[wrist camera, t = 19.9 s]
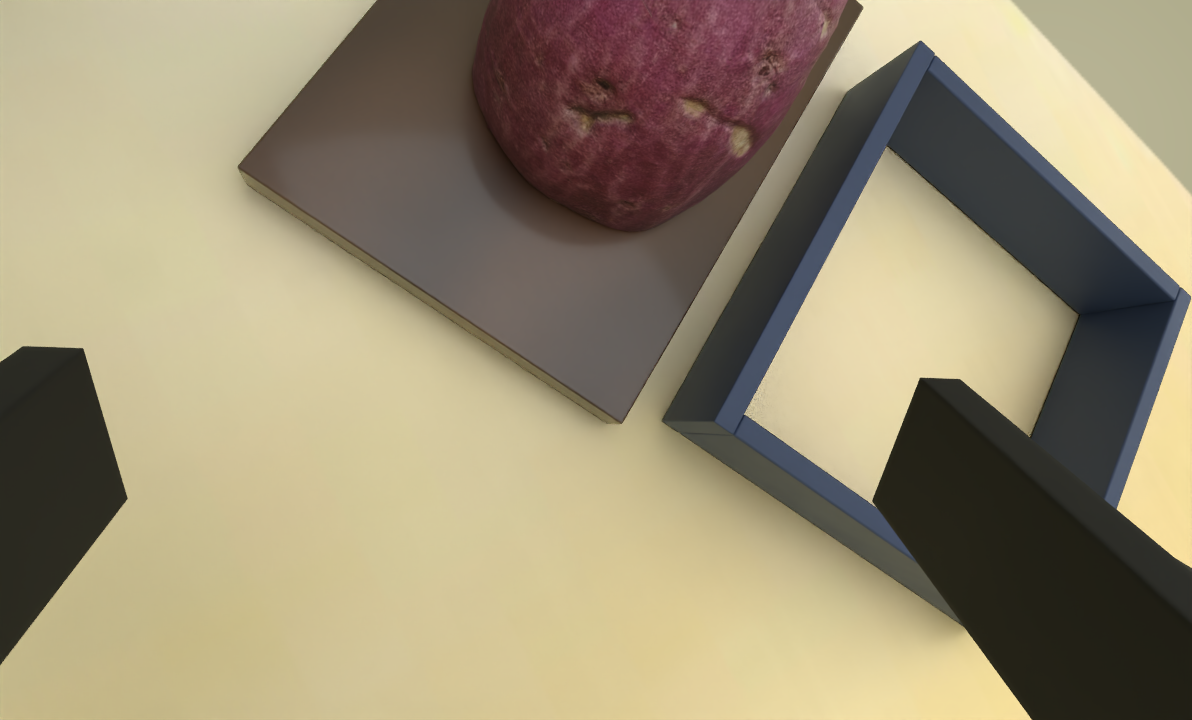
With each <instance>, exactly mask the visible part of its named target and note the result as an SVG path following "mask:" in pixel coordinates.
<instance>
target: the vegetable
mask: <svg viewBox="0 0 1192 720" xmlns="http://www.w3.org/2000/svg"><path fill="white" fill-rule="evenodd" d="M847 1H848V0H490V2H489V4H488V7H487V9H486V12H485V15H484V19H483V24H482V28H481V31H480V34H479V38H478V42H477V47H476V53H475V58H474V63H473V69H472V79H473V85H474V92H475V95H476V98H477V101H478V104H479V107H480V109H481V111H482V113H483V116H484V118H485V122H486V124H487V128H488V129H489V130H490V131H491V132H492V134H493V135H494V137H495V138H496V140H497V142H498V143H499V145H500V146H501V148H502V150H503V151H504V152H505V154H506V155H507V157H508V158H509V159H510V161H511V162H512V164H513V165H514V166H515V168H516V169H517V171H518V172H519V173H520V174H521V175H522V176H523V177H524V178H525V180H526V181H528V183H529V184H530V185H531V186H532V187H534V188H535V189H537V190H539V191H540V192H541V193H542V195H544V196H546V197H548V198H549V199H551V200H553V201H554V202H556V203H559V204H561V205H563V206H565V207H567V208H568V209H570V210H572V211H573V212H576V213H578V214H580V215H582V216H584V217H586V218H588V219H590V220H592V221H595V222H597V223H600V224H602V225H604V226H607V227H609V228H613V229H617V230H622V231H628V232H638V231H639V232H641V231H645V230H649V229H652V228H654V227H656V226H658V225H660V224H662V223H664V222H666V221H668V220H669V219H671V218H673V217H675V216H677V215H679V214H680V213H682V212H683V211H685V210H687V209H688V208H690V207H692V206H694V205H696V204H698V203H699V202H701V201H703V200H704V199H705V198H706V197H707V196H709V195H710V194H712V193H713V192H714V191H716V190H717V189H718V188H719V187H721V186H722V185H723V184H724V183H726V182H727V181H728V180H729V179H730V178H731V177H732V176H734V175H735V174H736V173H737V172H738V171H739V170H740V169H741V168H742V167H743V166H744V165H745V164H746V163H747V162H748V161H749V160H750V159H751V158H752V157H753V156H754V155H755V154H756V152H757V151H758V150H759V149H760V148H761V147H762V146H763V145H764V144H765V142H766V141H767V140H768V139H769V138H770V137H771V135H772V134H773V133H774V132H775V130H776V129H777V127H778V126H779V125H780V123H781V122H782V120H783V119H784V117H785V115H786V114H787V112H788V110H789V109H790V107H791V105H792V104H793V102H794V100H795V99H796V97H797V96H798V94H799V93H800V91H801V89H802V88H803V86H804V84H805V82H806V80H807V77H808V75H809V73H810V71H811V70H812V68H813V66H814V65H815V63H816V62H817V60H818V59H819V57H820V55H821V54H822V52H823V51H824V50H825V48H826V47H827V44H828V42H829V40H830V38H831V36H832V34H833V33H834V31H835V30H836V28H837V26H838V22H839V18H840V16H841V14H842V12H843V10H844V8H845V6H846V3H847Z"/></svg>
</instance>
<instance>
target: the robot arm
mask: <svg viewBox="0 0 1192 720" xmlns="http://www.w3.org/2000/svg"><path fill="white" fill-rule="evenodd" d="M127 499H128V498H127V495H126V492H125V488H124V485H123V481H122V478H121V475H120V471H119V468H118V465H117V461H116V458H115V454H114V451H113V448H112V444H111V441H110V437H109V434H108V431H107V427H106V424H105V421H104V417H103V414H102V410H101V407H100V404H99V400H98V397H97V393H96V390H95V387H94V383H93V380H92V377H91V373H90V370H89V366H88V363H87V360H86V356H85V353H84V349H83V348H57V347H29V346H23V347H21V348H20V349H19V350H17V351H16V352H14V353H13V354H11V355H10V356H9V357H7V358H6V359H4V360H3V361H2V362H0V665H1V663H2V662H3V661H4V659H5V658H6V657H7V656H8V654H9V653H10V652H11V650H12V649H13V648H14V646H15V645H16V644H17V642H18V641H19V640H20V639H21V637H22V636H23V635H24V633H25V632H26V631H27V629H28V628H29V627H30V626H31V624H32V623H33V622H34V620H35V619H36V618H37V616H38V615H39V614H40V612H41V611H42V610H43V609H44V607H45V606H46V605H47V603H48V602H49V601H50V599H51V598H52V597H53V595H54V594H55V593H56V592H57V590H58V589H59V588H60V586H61V585H62V584H63V582H64V581H65V580H66V579H67V577H68V576H69V575H70V573H71V572H72V571H73V569H74V568H75V567H76V565H77V564H78V563H79V562H80V560H81V559H82V558H83V556H84V555H85V554H86V552H87V551H88V550H89V548H90V547H91V546H92V545H93V543H94V542H95V541H96V539H97V538H98V537H99V535H100V534H101V533H102V532H103V530H104V529H105V528H106V526H107V525H108V524H109V522H110V521H111V520H112V518H113V517H114V516H115V515H116V513H117V512H118V511H119V509H120V508H121V507H122V505H123V504H124V503H125V501H126V500H127ZM872 502H873V503H874V504H875V506H876V507H877V508H878V510H879V511H880V513H881V514H882V515H883V517H884V518H885V519H886V521H887V522H888V523H889V525H890V526H891V528H892V529H893V530H894V532H895V533H896V534H897V536H898V537H899V538H900V540H901V541H902V543H903V544H904V545H905V547H906V548H907V549H908V551H909V552H910V554H911V555H912V556H913V558H914V559H915V560H916V562H917V563H918V564H919V566H920V567H921V569H922V570H923V571H924V573H925V574H926V575H927V577H928V578H929V579H930V581H931V582H932V584H933V585H934V586H935V588H936V589H937V590H938V592H939V593H940V595H941V596H942V597H943V599H944V600H945V601H946V603H947V604H948V605H949V607H950V608H951V610H952V611H953V612H954V614H955V615H956V616H957V618H958V619H959V620H960V622H961V623H962V625H963V626H964V627H965V629H966V630H967V631H968V633H969V634H970V636H971V637H972V638H973V640H974V641H975V642H976V644H977V645H978V646H979V648H980V649H981V651H982V652H983V653H984V655H985V656H986V657H987V659H988V660H989V661H990V663H991V664H992V666H993V667H994V668H995V670H996V671H997V672H998V674H999V675H1000V677H1001V678H1002V679H1003V681H1004V682H1005V683H1006V685H1007V686H1008V687H1009V689H1010V690H1011V692H1012V693H1013V694H1014V696H1015V697H1016V698H1017V700H1018V701H1019V702H1020V704H1021V705H1022V707H1023V708H1024V709H1025V711H1026V712H1027V713H1028V715H1029V716H1030V718H1031V719H1032V720H1192V568H1190V567H1189V566H1187V565H1185V564H1184V563H1182V562H1180V561H1179V560H1177V559H1175V558H1174V557H1173V556H1172V555H1170V554H1169V553H1168V552H1167V551H1166V550H1164V549H1163V548H1162V547H1161V546H1160V545H1158V544H1157V543H1156V542H1155V541H1154V540H1152V539H1151V538H1150V537H1149V536H1148V535H1146V534H1145V533H1144V532H1143V531H1142V530H1140V529H1139V528H1138V527H1137V526H1136V525H1134V524H1133V523H1132V522H1131V521H1130V520H1128V519H1127V518H1126V517H1125V516H1124V515H1122V514H1121V513H1120V512H1119V511H1118V510H1116V509H1115V508H1114V507H1113V506H1112V505H1110V504H1109V503H1108V502H1107V501H1106V500H1104V499H1103V498H1102V497H1101V496H1100V495H1098V494H1097V493H1096V492H1095V491H1094V490H1092V489H1091V488H1090V487H1089V486H1088V485H1086V484H1085V483H1084V482H1083V481H1082V480H1080V479H1079V478H1078V477H1077V476H1076V475H1074V474H1073V473H1072V472H1071V471H1070V470H1068V469H1067V468H1066V467H1065V466H1064V465H1062V464H1061V463H1060V462H1059V461H1058V460H1056V459H1055V458H1054V457H1053V456H1052V455H1050V454H1049V453H1048V452H1047V451H1046V450H1044V449H1043V448H1042V447H1041V446H1040V445H1038V444H1037V443H1036V442H1035V441H1034V440H1032V439H1031V438H1030V437H1029V436H1027V435H1026V434H1025V433H1024V432H1023V431H1021V430H1020V429H1019V428H1018V427H1017V426H1015V425H1014V424H1013V423H1012V422H1011V421H1009V420H1008V419H1007V418H1006V417H1005V416H1003V415H1002V414H1001V413H1000V412H999V411H997V410H996V409H995V408H994V407H993V406H991V405H990V404H989V403H988V402H987V401H985V400H984V399H983V398H982V397H981V396H979V395H978V394H977V393H976V392H975V391H973V390H972V389H971V388H970V387H969V386H967V385H966V384H965V383H964V382H963V381H961V380H960V379H939V378H920V379H919V382H918V385H917V387H916V390H915V392H914V395H913V397H912V400H911V403H910V405H909V408H908V410H907V413H906V415H905V418H904V421H903V423H902V426H901V428H900V431H899V433H898V436H897V439H896V441H895V444H894V446H893V449H892V451H891V454H890V457H889V459H888V462H887V464H886V467H885V469H884V472H883V475H882V477H881V480H880V482H879V485H878V487H877V490H876V493H875V495H874V498H873V500H872Z"/></svg>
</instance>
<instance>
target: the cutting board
mask: <svg viewBox="0 0 1192 720" xmlns="http://www.w3.org/2000/svg"><path fill="white" fill-rule="evenodd" d="M489 2H490V0H377V1H376V2H375V3H374V5H373V6H372V7H371V8H370V9H369V10H368V12H367V13H366V14H365V15H364V16H363V18H362V19H361V20H360V21H359V22H358V24H357V25H356V26H355V27H354V28H353V30H352V31H351V32H350V33H349V34H348V35H347V37H346V38H345V39H344V40H343V41H342V43H341V44H340V45H339V46H338V47H337V49H336V50H335V51H334V52H333V53H332V55H331V56H330V57H329V58H328V59H327V60H326V62H325V63H324V64H323V65H322V66H321V68H320V69H319V70H318V71H317V72H316V74H315V75H314V76H313V77H312V78H311V80H310V81H309V82H308V83H307V84H306V85H305V87H304V88H303V89H302V90H301V91H300V93H299V94H298V95H297V96H296V97H295V99H294V100H293V101H292V102H291V103H290V104H289V106H288V107H287V108H286V109H285V110H284V112H283V113H282V114H281V115H280V116H279V118H278V119H277V120H276V121H275V122H274V124H273V125H272V126H271V127H270V128H269V129H268V131H267V132H266V133H265V134H264V135H263V137H262V138H261V139H260V140H259V141H258V143H257V144H256V145H255V146H254V147H253V149H252V150H251V151H250V152H249V153H248V154H247V156H246V157H245V158H244V159H243V160H242V162H241V163H240V164H239V165H238V169H239V171H240V173H241V175H242V176H243V178H244V180H245V182H246V183H247V185H248V186H250V187H251V188H253V189H254V190H256V191H257V192H259V193H260V194H262V195H263V196H265V197H266V198H268V199H269V200H271V201H273V202H274V203H276V204H277V205H279V206H280V207H282V208H283V209H285V210H286V211H288V212H289V213H291V214H292V215H294V216H295V217H297V218H298V219H300V220H301V221H303V222H304V223H306V224H307V225H309V226H310V227H312V228H313V229H315V230H316V231H318V232H319V233H321V234H322V235H324V236H325V237H327V238H328V239H330V240H331V241H333V242H334V243H336V244H337V245H339V246H340V247H342V248H343V249H345V250H346V251H348V252H349V253H351V254H352V255H354V256H355V257H357V258H358V259H360V260H361V261H363V262H364V263H366V264H367V265H369V266H370V267H372V268H373V269H375V270H376V271H378V272H379V273H381V274H382V275H384V276H385V277H387V278H389V279H390V280H392V281H393V282H395V283H396V284H398V285H399V286H401V287H402V288H404V289H405V290H407V291H408V292H410V293H411V294H413V295H414V296H416V297H417V298H419V299H420V300H422V301H423V302H425V303H426V304H428V305H429V306H431V307H432V308H434V309H435V310H437V311H438V312H440V313H441V314H443V315H444V316H446V317H447V318H449V319H450V320H452V321H453V322H455V323H456V324H458V325H459V326H461V327H462V328H464V329H465V330H467V331H468V332H470V333H471V334H473V335H474V336H476V337H477V338H479V339H480V340H482V341H483V342H485V343H486V344H488V345H489V346H491V347H492V348H494V349H495V350H497V351H498V352H500V353H501V354H503V355H504V356H506V357H508V358H509V359H511V360H512V361H514V362H515V363H517V364H518V365H520V366H521V367H523V368H524V369H526V370H527V371H529V372H530V373H532V374H533V375H535V376H536V377H538V378H539V379H541V380H542V381H544V382H545V383H547V384H548V385H550V386H551V387H553V388H554V389H556V390H557V391H559V392H560V393H562V394H563V395H565V396H566V397H568V398H569V399H571V400H572V401H574V402H575V403H577V404H578V405H580V406H581V407H583V408H584V409H586V410H587V411H589V412H590V413H592V414H593V415H595V416H596V417H598V418H599V419H601V420H602V421H604V422H605V423H609V424H622V423H623V421H624V420H625V418H626V416H627V414H628V413H629V411H630V409H631V408H632V406H633V404H634V402H635V401H636V399H637V397H638V395H639V394H640V392H641V390H642V389H643V387H644V385H645V383H646V382H647V380H648V378H649V377H650V375H651V373H652V371H653V370H654V368H655V366H656V364H657V363H658V361H659V359H660V358H661V356H662V354H663V352H664V351H665V349H666V347H667V346H668V344H669V342H670V340H671V339H672V337H673V335H674V333H675V332H676V330H677V328H678V327H679V325H680V323H681V321H682V320H683V318H684V316H685V315H686V313H687V311H688V309H689V308H690V306H691V304H692V303H693V301H694V299H695V297H696V296H697V294H698V292H699V290H700V289H701V287H702V285H703V284H704V282H705V280H706V278H707V277H708V275H709V273H710V272H711V270H712V268H713V266H714V265H715V263H716V261H717V259H718V258H719V256H720V254H721V253H722V251H723V249H724V247H725V246H726V244H727V242H728V241H729V239H730V237H731V235H732V234H733V232H734V230H735V228H736V227H737V225H738V223H739V222H740V220H741V218H742V216H743V215H744V213H745V211H746V210H747V208H748V206H749V204H750V203H751V201H752V199H753V197H754V196H755V194H756V192H757V191H758V189H759V187H760V185H761V184H762V182H763V180H764V179H765V177H766V175H767V173H768V172H769V170H770V168H771V167H772V165H773V163H774V161H775V160H776V158H777V156H778V154H779V153H780V151H781V149H782V148H783V146H784V144H785V142H786V141H787V139H788V137H789V136H790V134H791V132H792V130H793V129H794V127H795V125H796V123H797V122H798V120H799V118H800V117H801V115H802V113H803V111H804V110H805V108H806V106H807V105H808V103H809V101H810V99H811V98H812V96H813V94H814V92H815V91H816V89H817V87H818V86H819V84H820V82H821V80H822V79H823V77H824V75H825V74H826V72H827V70H828V68H829V67H830V65H831V63H832V61H833V60H834V58H835V56H836V55H837V53H838V51H839V49H840V48H841V46H842V44H843V43H844V41H845V39H846V37H847V36H848V34H849V32H850V31H851V29H852V27H853V25H854V24H855V22H856V20H857V18H858V17H859V15H860V13H861V12H862V10H863V6H862V5H861V4H860V3H858V2H857V1H856V0H848V1H847V3H846V6H845V8H844V10H843V12H842V14H841V16H840V18H839V22H838V26H837V28H836V30H835V31H834V33H833V34H832V36H831V38H830V40H829V42H828V44H827V47H826V48H825V50H824V51H823V52H822V54H821V55H820V57H819V59H818V60H817V62H816V63H815V65H814V66H813V68H812V70H811V71H810V73H809V75H808V77H807V80H806V82H805V84H804V86H803V88H802V89H801V91H800V93H799V94H798V96H797V97H796V99H795V100H794V102H793V104H792V105H791V107H790V109H789V110H788V112H787V114H786V115H785V117H784V119H783V120H782V122H781V123H780V125H779V126H778V127H777V129H776V130H775V132H774V133H773V134H772V135H771V137H770V138H769V139H768V140H767V141H766V142H765V144H764V145H763V146H762V147H761V148H760V149H759V150H758V151H757V152H756V154H755V155H754V156H753V157H752V158H751V159H750V160H749V161H748V162H747V163H746V164H745V165H744V166H743V167H742V168H741V169H740V170H739V171H738V172H737V173H736V174H735V175H734V176H732V177H731V178H730V179H729V180H728V181H727V182H726V183H724V184H723V185H722V186H721V187H719V188H718V189H717V190H716V191H714V192H713V193H712V194H710V195H709V196H707V197H706V198H705V199H704V200H703V201H701V202H699V203H698V204H696V205H694V206H692V207H690V208H688V209H687V210H685V211H683V212H682V213H680V214H679V215H677V216H675V217H673V218H671V219H669V220H668V221H666V222H664V223H662V224H660V225H658V226H656V227H654V228H652V229H649V230H645V231H641V232H639V231H638V232H628V231H622V230H617V229H613V228H609V227H607V226H604V225H602V224H600V223H597V222H595V221H592V220H590V219H588V218H586V217H584V216H582V215H580V214H578V213H576V212H573V211H572V210H570V209H568V208H567V207H565V206H563V205H561V204H559V203H556V202H554V201H553V200H551V199H549V198H548V197H546V196H544V195H542V193H541V192H540V191H539V190H537V189H535V188H534V187H532V186H531V185H530V184H529V183H528V181H526V180H525V178H524V177H523V176H522V175H521V174H520V173H519V172H518V171H517V169H516V168H515V166H514V165H513V164H512V162H511V161H510V159H509V158H508V157H507V155H506V154H505V152H504V151H503V150H502V148H501V146H500V145H499V143H498V142H497V140H496V138H495V137H494V135H493V134H492V132H491V131H490V130H489V129H488V128H487V124H486V122H485V118H484V116H483V113H482V111H481V109H480V107H479V104H478V101H477V98H476V95H475V92H474V85H473V79H472V69H473V63H474V58H475V53H476V47H477V42H478V38H479V34H480V31H481V28H482V24H483V19H484V15H485V12H486V9H487V7H488V4H489Z"/></svg>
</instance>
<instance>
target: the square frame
mask: <svg viewBox="0 0 1192 720" xmlns="http://www.w3.org/2000/svg"><path fill="white" fill-rule="evenodd" d="M934 55H935V53H934V52H933V51H932V50H931V49H930V48H929V47H927V46H926V45H925V44H924V43H923V42H922V41H919V42H917V43H916V44H915V45H913V46H912V47H910V48H909V49H907V50H906V51H904V52H903V53H902V54H900V55H899V56H897V57H896V58H894V59H893V60H892V61H890V62H889V63H887V64H886V65H884V66H883V67H882V68H880V69H879V70H877V71H876V72H874V73H873V74H872V75H870V76H869V77H867V78H866V79H864V80H863V81H862V82H860V83H859V84H857V85H856V86H854V87H853V88H851V89H850V90H849V91H848V92H847V94H846V95H845V97H844V99H843V101H842V102H841V104H840V106H839V108H838V110H837V111H836V113H835V115H834V117H833V118H832V120H831V122H830V124H829V125H828V127H827V129H826V131H825V133H824V134H823V136H822V138H821V140H820V141H819V143H818V145H817V147H816V149H815V150H814V152H813V154H812V156H811V157H810V159H809V161H808V163H807V164H806V166H805V168H804V170H803V172H802V173H801V175H800V177H799V179H798V180H797V182H796V184H795V186H794V187H793V189H792V191H791V193H790V195H789V196H788V198H787V200H786V202H785V203H784V205H783V207H782V209H781V211H780V212H779V214H778V216H777V218H776V219H775V221H774V223H773V225H772V226H771V228H770V230H769V232H768V234H767V235H766V237H765V239H764V241H763V242H762V244H761V246H760V248H759V249H758V251H757V253H756V255H755V257H754V258H753V260H752V262H751V264H750V265H749V267H748V269H747V271H746V273H745V274H744V276H743V278H742V280H741V281H740V283H739V285H738V287H737V288H736V290H735V292H734V294H733V296H732V297H731V299H730V301H729V303H728V304H727V306H726V308H725V310H724V312H723V313H722V315H721V317H720V319H719V320H718V322H717V324H716V326H715V327H714V329H713V331H712V333H711V335H710V336H709V338H708V340H707V342H706V343H705V345H704V347H703V349H702V350H701V352H700V354H699V356H698V358H697V359H696V361H695V363H694V365H693V366H692V368H691V370H690V372H689V374H688V375H687V377H686V379H685V381H684V382H683V384H682V386H681V388H680V389H679V391H678V393H677V395H676V397H675V398H674V400H673V402H672V404H671V405H670V407H669V409H668V411H667V412H666V414H665V416H664V418H663V420H662V421H663V422H664V423H665V424H667V425H668V426H670V427H671V428H673V429H674V430H675V431H677V432H680V433H681V434H682V435H683V436H685V437H686V438H688V439H689V440H691V441H692V442H694V443H695V444H696V445H698V446H699V447H701V448H702V449H704V450H705V451H707V452H708V453H710V454H711V455H713V456H714V457H716V458H717V459H719V460H720V461H721V462H723V463H724V464H726V465H727V466H729V467H730V468H732V469H733V470H735V471H736V472H738V473H739V474H741V475H742V476H744V477H745V478H746V479H748V480H749V481H751V482H752V483H754V484H755V485H757V486H758V487H760V488H761V489H763V490H764V491H766V492H767V493H769V494H770V495H771V496H773V497H774V498H776V499H777V500H779V501H780V502H782V503H783V504H785V505H786V506H788V507H789V508H791V509H792V510H793V511H795V512H796V513H798V514H799V515H801V516H802V517H804V518H805V519H807V520H808V521H810V522H811V523H813V524H814V525H816V526H817V527H818V528H820V529H821V530H823V531H824V532H826V533H827V534H829V535H830V536H832V537H833V538H835V539H836V540H838V541H839V542H841V543H842V544H843V545H845V546H846V547H848V548H849V549H851V550H852V551H854V552H855V553H857V554H858V555H860V556H861V557H863V558H864V559H866V560H867V561H868V562H870V563H871V564H873V565H874V566H876V567H877V568H879V569H880V570H882V571H883V572H885V573H886V574H888V575H889V576H890V577H892V578H893V579H895V580H896V581H898V582H899V583H901V584H902V585H904V586H905V587H907V588H908V589H910V590H911V591H913V592H914V593H915V594H917V595H918V596H920V597H921V598H923V599H924V600H926V601H927V602H929V603H930V604H932V605H933V606H935V607H936V608H938V609H939V610H940V611H942V612H943V613H945V614H946V615H948V616H949V617H951V618H952V619H954V620H955V621H957V622H958V623H959V624H961V625H962V623H961V622H960V620H959V619H958V618H957V616H956V615H955V614H954V612H953V611H952V610H951V608H950V607H949V605H948V604H947V603H946V601H945V600H944V599H943V597H942V596H941V595H940V593H939V592H938V590H937V589H936V588H935V586H934V585H933V584H932V582H931V581H930V579H929V578H928V577H927V575H926V574H925V573H924V571H923V570H922V569H921V567H920V566H919V564H918V563H917V562H916V560H915V559H914V558H913V556H912V555H911V554H910V552H909V551H908V549H907V548H906V547H905V545H904V544H903V543H902V541H901V540H900V538H899V537H898V536H897V534H896V533H895V532H894V530H893V529H892V528H891V526H890V525H889V523H888V522H887V521H886V519H885V518H884V517H883V515H882V514H881V513H880V511H879V510H878V509H877V508H876V507H875V506H873V505H872V504H870V503H869V502H868V501H866V500H865V499H863V498H862V497H860V496H859V495H858V494H856V493H855V492H853V491H852V490H851V489H849V488H848V487H846V486H845V485H844V484H842V483H841V482H839V481H838V480H836V479H835V478H834V477H832V476H831V475H829V474H828V473H827V472H825V471H824V470H822V469H821V468H820V467H818V466H817V465H815V464H814V463H812V462H811V461H810V460H808V459H807V458H805V457H804V456H803V455H801V454H800V453H798V452H797V451H795V450H794V449H793V448H791V447H790V446H788V445H787V444H786V443H784V442H783V441H781V440H780V439H779V438H777V437H776V436H774V435H773V434H771V433H770V432H769V431H767V430H766V429H764V428H763V427H762V426H760V425H759V424H757V423H756V422H755V421H753V420H752V419H750V418H749V417H747V416H746V415H744V413H745V411H746V409H747V407H748V406H749V404H750V402H751V400H752V398H753V396H754V394H755V392H756V390H757V389H758V387H759V385H760V383H761V381H762V379H763V377H764V375H765V373H766V372H767V370H768V368H769V366H770V364H771V362H772V360H773V358H774V357H775V355H776V353H777V351H778V349H779V347H780V345H781V343H782V341H783V340H784V338H785V336H786V334H787V332H788V330H789V328H790V326H791V324H792V323H793V321H794V319H795V317H796V315H797V313H798V311H799V309H800V307H801V306H802V304H803V302H804V300H805V298H806V296H807V294H808V292H809V291H810V289H811V287H812V285H813V283H814V281H815V279H816V277H817V275H818V274H819V272H820V270H821V268H822V266H823V264H824V262H825V260H826V258H827V257H828V255H829V253H830V251H831V249H832V247H833V245H834V243H835V242H836V240H837V238H838V236H839V234H840V232H841V230H842V228H843V226H844V225H845V223H846V221H847V219H848V217H849V215H850V213H851V211H852V209H853V208H854V206H855V204H856V202H857V200H858V198H859V196H860V194H861V193H862V191H863V189H864V187H865V185H866V183H867V181H868V179H869V177H870V176H871V174H872V172H873V170H874V168H875V166H876V164H877V162H878V160H879V159H880V157H881V155H882V153H883V151H884V149H885V147H886V145H888V146H889V147H890V148H892V149H893V150H894V151H895V152H896V153H897V154H898V155H900V156H901V157H902V158H903V159H904V160H905V161H906V162H907V163H909V164H910V165H911V166H912V167H913V168H914V169H915V170H916V171H918V172H919V173H920V174H921V175H922V176H923V177H924V178H926V179H927V180H928V181H929V182H930V183H931V184H932V185H933V186H935V187H936V188H937V189H938V190H939V191H940V192H941V193H943V194H944V195H945V196H946V197H947V198H948V199H949V200H950V201H952V202H953V203H954V204H955V205H956V206H957V207H958V208H960V209H961V210H962V211H963V212H964V213H965V214H966V215H967V216H969V217H970V218H971V219H972V220H973V221H974V222H975V223H977V224H978V225H979V226H980V227H981V228H982V229H983V230H984V231H986V232H987V233H988V234H989V235H990V236H991V237H992V238H994V239H995V240H996V241H997V242H998V243H999V244H1000V245H1001V246H1003V247H1004V248H1005V249H1006V250H1007V251H1008V252H1009V253H1011V254H1012V255H1013V256H1014V257H1015V258H1016V259H1017V260H1018V261H1020V262H1021V263H1022V264H1023V265H1024V266H1025V267H1026V268H1028V269H1029V270H1030V271H1031V272H1032V273H1033V274H1034V275H1035V276H1037V277H1038V278H1039V279H1040V280H1041V281H1042V282H1043V283H1044V284H1046V285H1047V286H1048V287H1049V288H1050V289H1051V290H1052V291H1054V292H1055V293H1056V294H1057V295H1058V296H1059V297H1060V298H1061V299H1063V300H1064V301H1065V302H1066V303H1067V304H1068V305H1069V306H1071V307H1072V308H1073V309H1074V310H1075V311H1076V312H1077V313H1078V314H1081V315H1080V317H1079V320H1078V322H1077V325H1076V327H1075V330H1074V332H1073V335H1072V337H1071V340H1070V342H1069V345H1068V347H1067V350H1066V352H1065V354H1064V357H1063V359H1062V362H1061V364H1060V367H1059V369H1058V372H1057V374H1056V377H1055V379H1054V382H1053V384H1052V387H1051V389H1050V392H1049V394H1048V397H1047V399H1046V402H1045V404H1044V407H1043V409H1042V412H1041V414H1040V417H1039V419H1038V422H1037V424H1036V427H1035V429H1034V432H1033V434H1032V437H1031V439H1032V440H1034V441H1035V442H1036V443H1037V444H1038V445H1040V446H1041V447H1042V448H1043V449H1044V450H1046V451H1047V452H1048V453H1049V454H1050V455H1052V456H1053V457H1054V458H1055V459H1056V460H1058V461H1059V462H1060V463H1061V464H1062V465H1064V466H1065V467H1066V468H1067V469H1068V470H1070V471H1071V472H1072V473H1073V474H1074V475H1076V476H1077V477H1078V478H1079V479H1080V480H1082V481H1083V482H1084V483H1085V484H1086V485H1088V486H1089V487H1090V488H1091V489H1092V490H1094V491H1095V492H1096V493H1097V494H1098V495H1100V496H1101V497H1102V498H1103V499H1104V500H1106V501H1107V502H1108V503H1109V504H1110V505H1112V506H1113V507H1114V508H1115V509H1117V506H1118V503H1119V501H1120V498H1121V495H1122V492H1123V489H1124V486H1125V484H1126V481H1127V478H1128V475H1129V472H1130V470H1131V467H1132V464H1133V461H1134V458H1135V455H1136V453H1137V450H1138V447H1139V444H1140V441H1141V438H1142V436H1143V433H1144V430H1145V427H1146V424H1147V422H1148V419H1149V416H1150V413H1151V410H1152V407H1153V405H1154V402H1155V399H1156V396H1157V393H1158V391H1159V388H1160V385H1161V382H1162V379H1163V376H1164V374H1165V371H1166V368H1167V365H1168V362H1169V360H1170V357H1171V354H1172V351H1173V348H1174V345H1175V343H1176V340H1177V337H1178V334H1179V331H1180V328H1181V326H1182V323H1183V320H1184V317H1185V314H1186V312H1187V309H1188V306H1189V303H1190V300H1191V296H1190V295H1189V294H1188V293H1187V292H1186V291H1185V290H1184V289H1182V288H1181V287H1179V285H1178V284H1177V283H1176V282H1175V281H1174V280H1173V279H1172V278H1171V277H1170V276H1169V275H1167V274H1166V273H1165V272H1164V271H1163V270H1162V269H1161V268H1160V267H1159V266H1158V265H1157V264H1156V263H1155V262H1154V261H1153V260H1152V259H1151V258H1150V257H1148V256H1147V255H1146V254H1145V253H1144V252H1143V251H1142V250H1141V249H1140V248H1139V247H1138V246H1137V245H1136V244H1135V243H1134V242H1133V241H1132V240H1131V239H1129V238H1128V237H1127V236H1126V235H1125V234H1124V233H1123V232H1122V231H1121V230H1120V229H1119V228H1118V227H1117V226H1116V225H1115V224H1114V223H1113V222H1112V221H1110V220H1109V219H1108V218H1107V217H1106V216H1105V215H1104V214H1103V213H1102V212H1101V211H1100V210H1099V209H1098V208H1097V207H1096V206H1095V205H1094V204H1092V203H1091V202H1090V201H1089V200H1088V199H1087V198H1086V197H1085V196H1084V195H1083V194H1082V193H1081V192H1080V191H1079V190H1078V189H1077V188H1076V187H1075V186H1073V185H1072V184H1071V183H1070V182H1069V181H1068V180H1067V179H1066V178H1065V177H1064V176H1063V175H1062V174H1061V173H1060V172H1059V171H1058V170H1057V169H1056V168H1054V167H1053V166H1052V165H1051V164H1050V163H1049V162H1048V161H1047V160H1046V159H1045V158H1044V157H1043V156H1042V155H1041V154H1040V153H1039V152H1038V151H1037V150H1035V149H1034V148H1033V147H1032V146H1031V145H1030V144H1029V143H1028V142H1027V141H1026V140H1025V139H1024V138H1023V137H1022V136H1021V135H1020V134H1019V133H1017V132H1016V131H1015V130H1014V129H1013V128H1012V127H1011V126H1010V125H1009V124H1008V123H1007V122H1006V121H1005V120H1004V119H1003V118H1002V117H1001V116H1000V115H998V114H997V113H996V112H995V111H994V110H993V109H992V108H991V107H990V106H989V105H988V104H987V103H986V102H985V101H984V100H983V99H982V98H981V97H979V96H978V95H977V94H976V93H975V92H974V91H973V90H972V89H971V88H970V87H969V86H968V85H967V84H966V83H965V82H964V81H963V80H961V79H960V78H959V77H958V76H957V75H956V74H955V73H954V72H953V71H952V70H951V69H950V68H949V67H948V66H947V65H946V64H945V63H944V62H942V61H941V60H940V59H939V58H938V57H937V56H934ZM962 626H963V625H962Z"/></svg>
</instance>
